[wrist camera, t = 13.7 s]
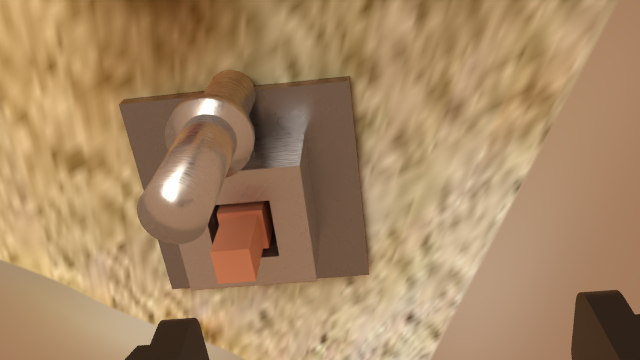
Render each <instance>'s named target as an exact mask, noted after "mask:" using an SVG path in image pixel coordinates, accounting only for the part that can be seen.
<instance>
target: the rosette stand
mask: <svg viewBox="0 0 640 360" xmlns="http://www.w3.org/2000/svg"><path fill="white" fill-rule="evenodd" d="M119 106H120V110H121V113H122V117H123V120H124V124H125V127H126V130H127V134H128V137H129V141H130V144H131V148H132V151H133V155H134V158H135V162H136V165H137V168H138V172H139V175H140V179H141V182H142V186H143V189H144V192H143V194H142V195H141V197H140V199H139V201H138V205H137V213H138V218H139V220H140V222H141V224H142V226H143V227H144V229H145V230H146V231H147V232H148V233H149V234H150V235H152V236H153V237H154V238H156V239H158V241H159V245H160V248H161V252H162V255H163V258H164V262H165V265H166V269H167V272H168V276H169V279H170V283H171V286H172V289H179V288H191V290H200V289H213V288H227V287H241V286H254V285H268V284H282V283H295V282H309V281H317V278H328V277H342V276H356V275H369V266H368V256H367V246H366V236H365V226H364V217H363V207H362V197H361V187H360V177H359V167H358V157H357V147H356V137H355V127H354V118H353V108H352V98H351V88H350V78H349V76H347V77H337V78H327V79H318V80H308V81H298V82H289V83H279V84H269V85H259V86H254V85H253V83H252V81H251V80H250V79H249V78H248V77H247V76H246V75H244V74H243V73H241V72H238V71H234V70H227V71H223V72H220V73H218V74H217V75H216V76H215V77H214V78H213V79H212V81H211V82H210V84H209V85H208V87H207V89H206V90H205V91H201V92H192V93H182V94H172V95H162V96H153V97H143V98H133V99H124V100H123V101H122V102H121V103H120V104H119ZM268 200H269V202H270V207H271V213H272V218H273V224H274V225H273V230H272V235H271V240H270V245H269V248H263V251H262V256H261V260H260V265H259V270H258V274H257V279H256V281H250V282H238V283H225V284H218V282H217V278H216V274H215V270H214V266H213V262H212V258H211V254H210V251H211V248H212V245H213V242H214V239H215V236H216V234H217V231H218V228H219V222H218V217H217V212H218V209H219V206H220V205H222V204H233V203H245V202H257V201H268Z"/></svg>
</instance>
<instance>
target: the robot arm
mask: <svg viewBox="0 0 640 360" xmlns="http://www.w3.org/2000/svg"><path fill="white" fill-rule="evenodd" d="M571 353H572V354H571V355H572V360H640V314H637V315H635V314H634V313H633V311H632V309H631V308H630V306H629V304H628V303H627V301H626V300H625V298H624V297H623V295H622V294H621V293H620V292H619V291H618V290H609V291H594V292H581V293H578V295H577V297H576V304H575V315H574V326H573V336H572V348H571ZM125 360H209V357H208V353H207V349H206V346H205V342H204V338H203V335H202V331H201V327H200V324H199V322H198V320H197V319H196V318H185V319H171V320H162V321H160V323H159V324H158V327H157V329H156V332H155V334H154V336H153V339H152V342H151V344H150V345H142V346H137V347H136V348H135V349H134V350H133V352H131V354H130V355H129V356H128V357H127V358H126V359H125Z"/></svg>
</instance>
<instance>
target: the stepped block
mask: <svg viewBox="0 0 640 360" xmlns="http://www.w3.org/2000/svg"><path fill="white" fill-rule="evenodd" d="M217 217H218V222H219V228H218V231H217V234H216V236H215V239H214V242H213V245H212V248H211V251H210V254H211V258H212V262H213V266H214V270H215V274H216V278H217V282H218V284H225V283H238V282H250V281H256V279H257V274H258V270H259V265H260V260H261V256H262V251H263V248H269V245H270V240H271V235H272V230H273V225H274V224H273V218H272V213H271V207H270V202H269V200H268V201H257V202H245V203H233V204H222V205H220V206H219V209H218V212H217Z"/></svg>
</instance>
